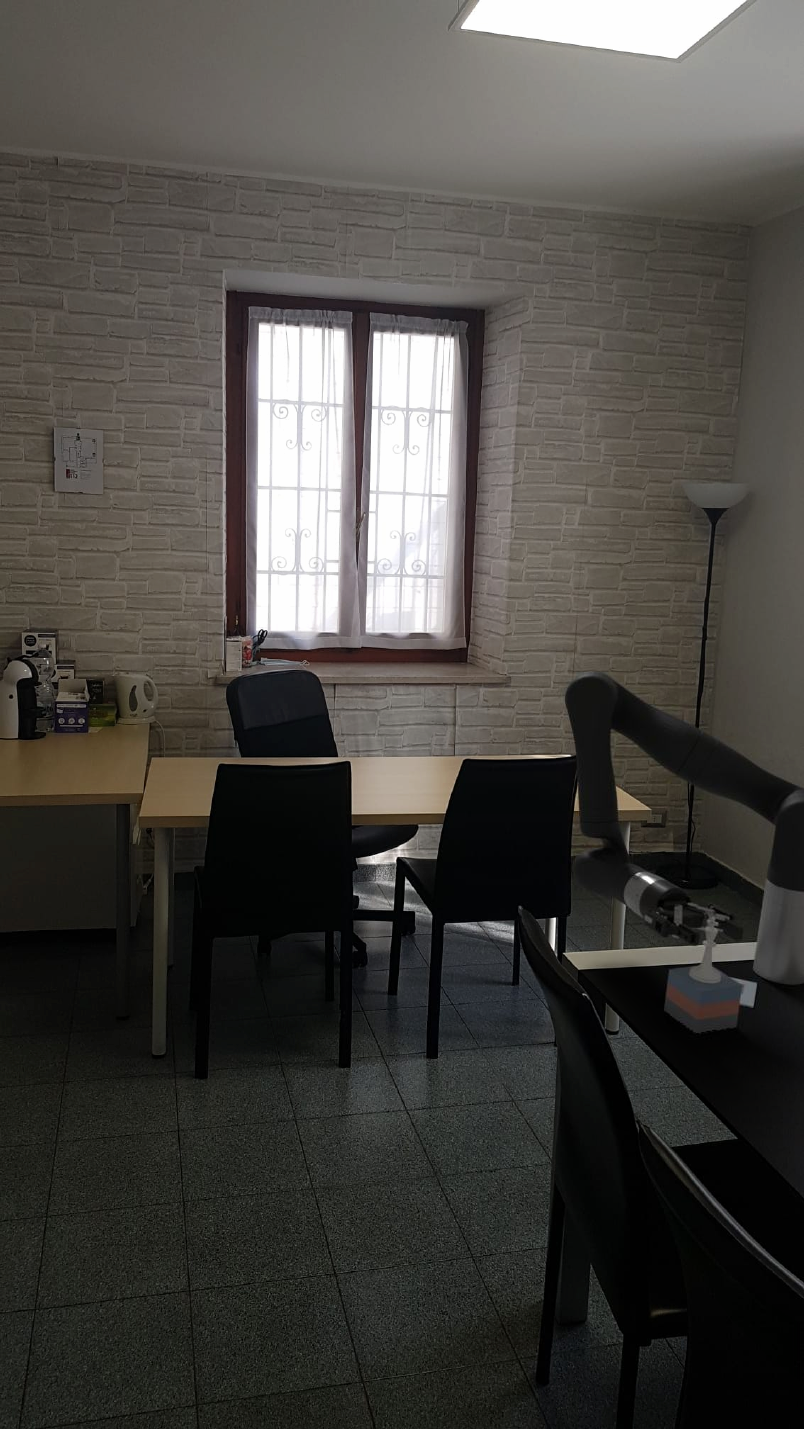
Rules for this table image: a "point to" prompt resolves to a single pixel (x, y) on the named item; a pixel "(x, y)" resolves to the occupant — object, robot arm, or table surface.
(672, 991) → the brick tower
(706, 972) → the chess piece
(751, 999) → the picture card
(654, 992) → the table surface
